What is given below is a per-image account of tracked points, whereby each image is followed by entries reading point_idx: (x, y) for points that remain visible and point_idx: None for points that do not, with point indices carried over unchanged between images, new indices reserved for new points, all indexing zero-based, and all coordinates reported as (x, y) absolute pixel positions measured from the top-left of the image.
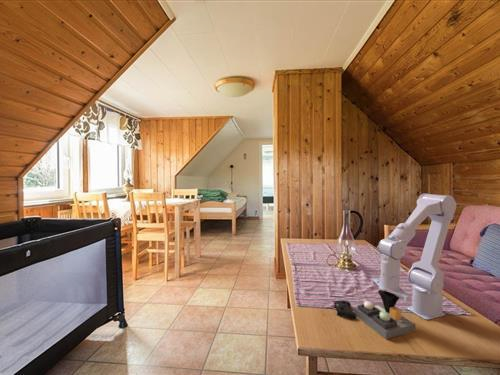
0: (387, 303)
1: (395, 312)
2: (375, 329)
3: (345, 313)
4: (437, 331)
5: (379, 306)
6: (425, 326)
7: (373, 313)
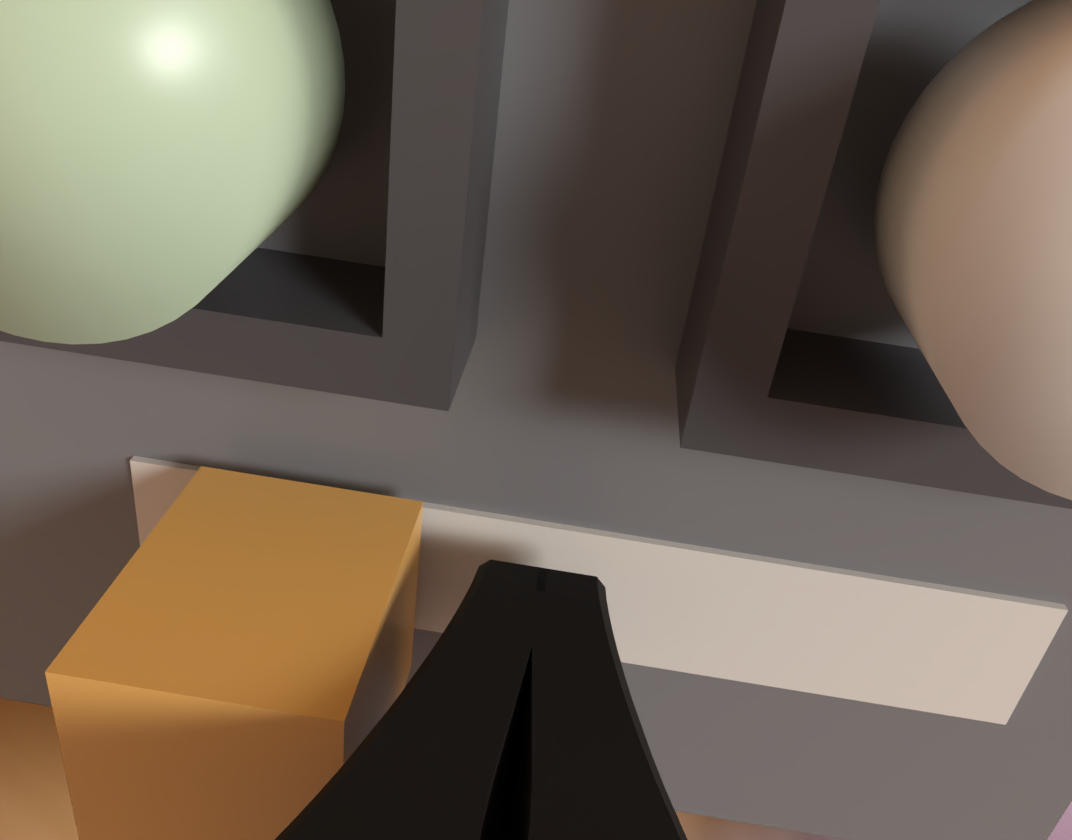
0: (365, 835)
1: (85, 634)
2: None
3: None
4: (26, 830)
5: (933, 700)
6: None
7: (746, 99)
